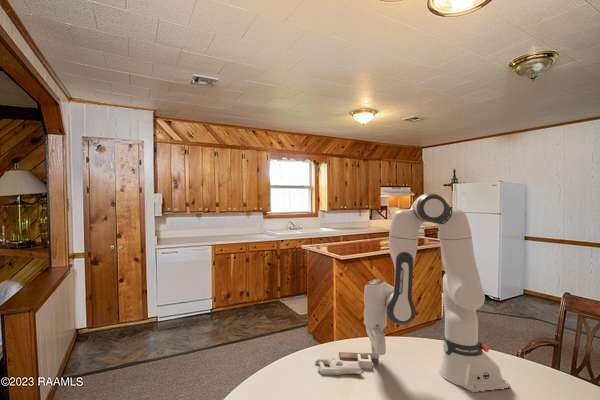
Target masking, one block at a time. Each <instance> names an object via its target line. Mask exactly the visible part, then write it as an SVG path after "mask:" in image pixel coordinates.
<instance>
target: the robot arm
mask: <svg viewBox="0 0 600 400" xmlns="http://www.w3.org/2000/svg"><path fill="white" fill-rule="evenodd" d="M424 223H431V224H432V223H433V224H435V225H436V227H437V229H438V237H439V245H440V253H441V255H440V256H441V260H442V264H443V267H444V268H443V269H444V272H445V273H444V274H443V277H442V297H443V298H442V299H443V307H444V308H443V309H444V334H443V342H442V347H443V356H442V362H441V365H440V367H439V373H440V375H441V376H442V377H443V378H444V379H446V380H447V382H450V383H452V384H454V385H456V386H459V387H462V388H464V389H466V390H468V391H470V392H472V393H479V391H481V392H486V391H485V390H492V391H495V390H494V389H502V388H503V390H505V389H504V388H508V387H509V388H510V384H509V381H507V379H506V378H505V377H504V376H503V374H502V373H501V369H500V366H499V365H498V364H497V363H496V361H495V360H494V359H493V358H491V357H490V356H489V355H488V354H487V353H488V352H489V351H490V348H489V346H487V345H486V344H485V343H484V344H483V343H482V342H481V341H480V340H479V319H478V316H477V311H476V310H478V309H480V308H481V307H482V306H483V305H484V303H485V300H486V296H485V292H484V288H483V286H482V281H481V280H482V279H481V277H480V274H479V273H480V272H479V270H478V269H479V268H478V266H477V263H476V258H475V253H474V252H475V251H474V250H475V249H474V243H473V237H472V236H473V235H472V230H471V225H470V222H469V219H468V217H467V214H466V212H464V211H463V210H462V209H458V208H452V207H451V206H450V204H449V203H448V202H447V201H446V199H444V197H442V196H441V195H439V194H436V193H424V194H421V195H420V196H417V197H416V198H415V199H414V200H413V202H411V205H409V207H408V209H406V208H405V209H402V208H401V209H399V210H396V211H395V212H394V213H393V216H392V219H391V222H390V227H389V235H388V250H389V254H390V257H391V261H392V263H393V267H394V282H393V283H394V285H393V286H392V285H390V284H389V283H387V282H386V281H385V280H382V279H377V278H376V279H371V280H369V281H367V282H366V283H365V286H364V290H363V291H364V292H363V303H364V310H363V324H364V325H365V330H366V334H367V336H368V339H369V340H370V345H371V347H372V346H373V348H374V357H375V358H380V356H385V355H386V353H387V351H386V350H387V348H386V347H387V346H386V345H387V344H386V335H385V333H384V329H385V328H386V327H387V318H389V320H390V321H391V322H392V323H394V324H396V325H398V326H406V325H409V324H411V323H412V322H413V321H415V319H416V316H417V310H416V306H415V303H414V301H413V295H412V294H413V276H414V265H415V262H416V256H417V251H418V246H419V245H418V244H419V235H420V234H419V233H420V229H421V226H422V225H423V224H424ZM505 382H506V383H505Z"/></svg>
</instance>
